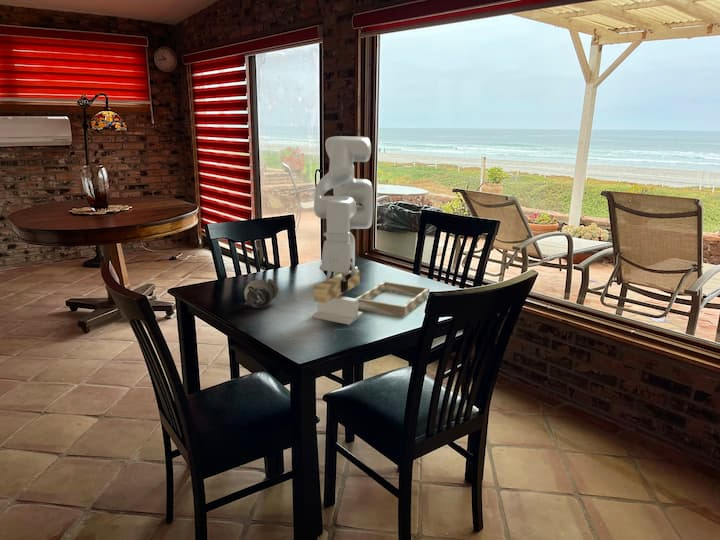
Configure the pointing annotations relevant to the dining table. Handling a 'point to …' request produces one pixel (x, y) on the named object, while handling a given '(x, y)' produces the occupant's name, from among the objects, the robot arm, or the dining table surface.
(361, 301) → the birch crate frame
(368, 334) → the dining table surface
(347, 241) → the robot arm
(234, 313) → the dining table surface
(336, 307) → the ridge block
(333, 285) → the oak batten
